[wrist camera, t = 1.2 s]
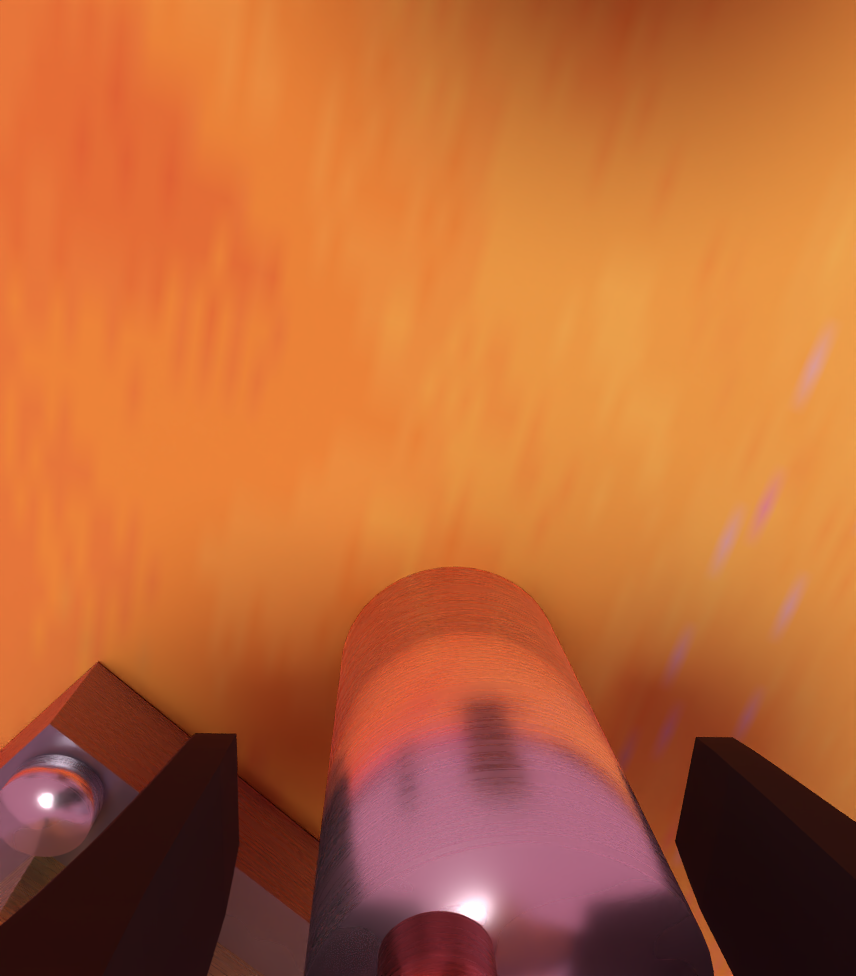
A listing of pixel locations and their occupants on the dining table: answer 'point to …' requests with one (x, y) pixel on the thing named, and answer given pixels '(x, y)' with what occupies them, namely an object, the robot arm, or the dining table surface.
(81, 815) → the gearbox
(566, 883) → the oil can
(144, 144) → the dining table surface
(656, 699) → the dining table surface
